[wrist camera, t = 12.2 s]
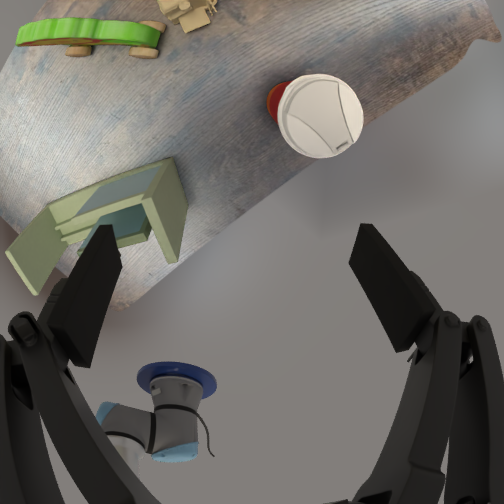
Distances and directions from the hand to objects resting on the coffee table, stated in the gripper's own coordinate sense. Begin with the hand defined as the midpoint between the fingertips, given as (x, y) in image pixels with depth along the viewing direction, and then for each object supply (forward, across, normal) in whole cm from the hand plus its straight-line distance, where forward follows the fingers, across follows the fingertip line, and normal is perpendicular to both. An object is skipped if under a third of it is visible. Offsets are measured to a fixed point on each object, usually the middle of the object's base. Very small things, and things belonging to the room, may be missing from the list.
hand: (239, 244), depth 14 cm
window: (+25, -14, -10) cm, 30 cm away
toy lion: (+27, -16, +16) cm, 35 cm away
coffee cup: (+27, +8, +5) cm, 28 cm away
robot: (+27, -5, +20) cm, 34 cm away
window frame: (+26, -18, -10) cm, 33 cm away
